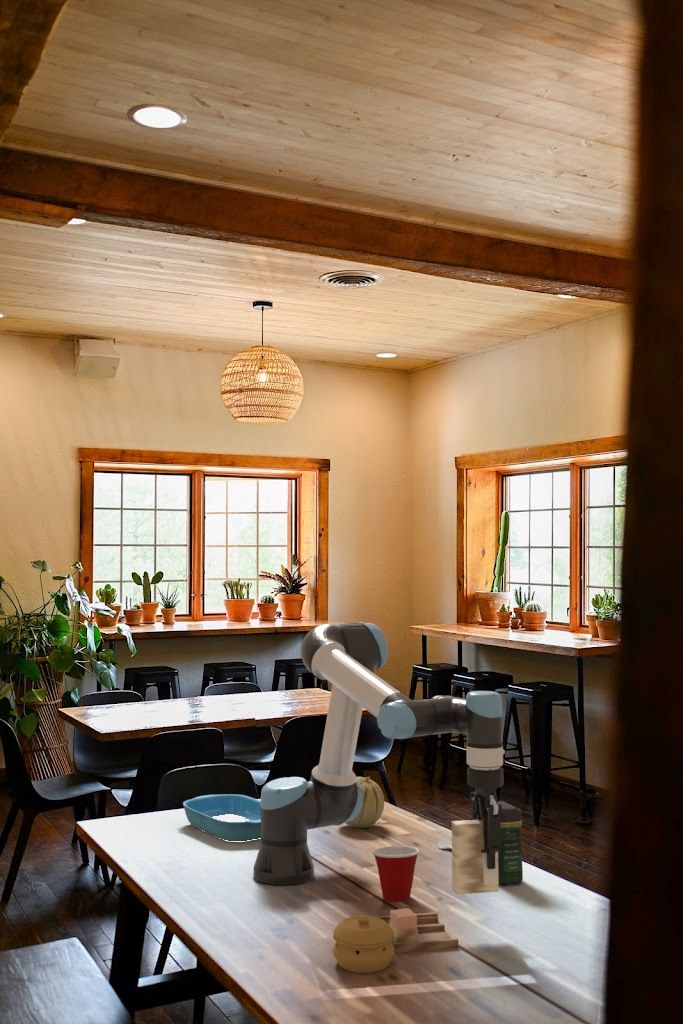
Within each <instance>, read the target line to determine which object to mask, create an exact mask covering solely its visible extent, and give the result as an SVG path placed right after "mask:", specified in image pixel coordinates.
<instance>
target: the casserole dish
mask: <svg viewBox="0 0 683 1024" xmlns="http://www.w3.org/2000/svg"><path fill="white" fill-rule="evenodd" d="M260 801H261V800H260V799H257V798H254V797H250V796H248V795H244V794H230V793H229V794H226V793H225V794H207V795H200V796H196V797H194V798H192V799H187V800H185V801H183V802H182V805H183V808H184V813H185V817H186V819H187V821H188V822H189V824H190V825H192V826H193V827H194V826H195V827H194V828H196V827H197V828H196V829H198V828H199V829H201V830H203V831H205V832H207V833H206V834H208V833H209V834H208V835H210V834H211V835H210V836H212V835H213V836H212V837H214V836H216V837H218V838H221V839H224V840H228V841H247V840H252V839H258V838H261V807H260ZM225 814H234V815H238V816H242V817H245V819H249V821H245V822H226V821H221V820H217V819H214V818H212V817H213V816H219V815H225ZM199 829H198V830H199ZM201 830H200V831H201ZM203 831H202V832H203ZM205 832H204V833H205ZM216 837H215V838H216ZM218 838H217V839H218ZM221 839H220V840H221Z"/></svg>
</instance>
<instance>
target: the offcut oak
mask: <svg viewBox="0 0 683 1024" xmlns="http://www.w3.org/2000/svg"><path fill="white" fill-rule="evenodd" d="M389 925H390V927H391V928H392V930H393V932H394V939H393V940H392V941H393V943H399V942H413V941H418V929H417V928H415V929H407V930H399V931H398V930H397V929H396V928H395V927H394V926H393V925H392V924H391V923H390V921H389Z"/></svg>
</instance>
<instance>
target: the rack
mask: <svg viewBox="0 0 683 1024" xmlns="http://www.w3.org/2000/svg"><path fill="white" fill-rule="evenodd" d="M415 914H416V915H417V929H418V941H413V942H399V943H393V941H392V942H391V943H392V945H393V947H394V954H395V953H405V952H406V953H407V952H419V951H420V952H421V951H423V952H424V951H434V950H435V951H437V950H446V949H458V948H459V939H458V938H457V937H456V938H452V937H450V935H449V933H448V932H447V931H446V930H445V929H446V928H445V924H444V923H440V922H439V916H438V912H423V913H415ZM376 917H377V918H380V919H382V920H384V921H385V922H387V923H388V924H389V921H390V915H379V916H378V915H377V916H376Z"/></svg>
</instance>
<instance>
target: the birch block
mask: <svg viewBox="0 0 683 1024" xmlns="http://www.w3.org/2000/svg"><path fill="white" fill-rule="evenodd" d="M451 845H452V849H451V865H452V866H451V872H452V874H451V875H452V876H451V877H452V879H451V880H452V881H451V882H452V883H451V884H452V891H453V892H454V893H455V894H456V895H465V894H466V895H468V894H482V893H483V894H484V893H494V892H495V893H499V891H500V890H499V885H500V884H499V882H498V852H496V869H497V884H490V885H484V884H483V853H481V850H484V836H483V820H472V819H470V820H469V819H467V820H451Z"/></svg>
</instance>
